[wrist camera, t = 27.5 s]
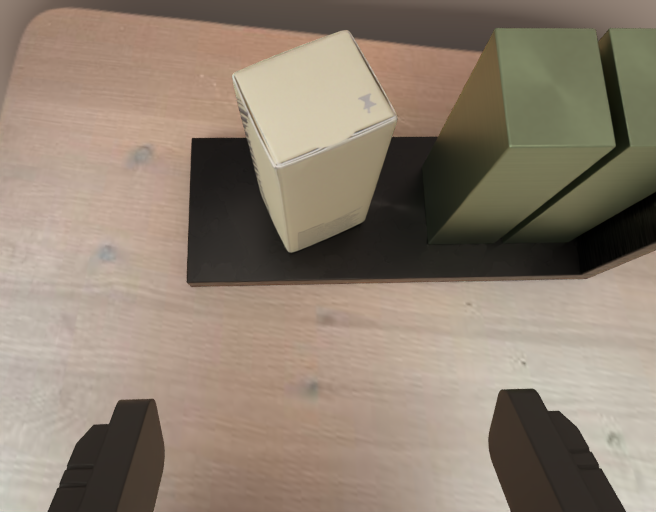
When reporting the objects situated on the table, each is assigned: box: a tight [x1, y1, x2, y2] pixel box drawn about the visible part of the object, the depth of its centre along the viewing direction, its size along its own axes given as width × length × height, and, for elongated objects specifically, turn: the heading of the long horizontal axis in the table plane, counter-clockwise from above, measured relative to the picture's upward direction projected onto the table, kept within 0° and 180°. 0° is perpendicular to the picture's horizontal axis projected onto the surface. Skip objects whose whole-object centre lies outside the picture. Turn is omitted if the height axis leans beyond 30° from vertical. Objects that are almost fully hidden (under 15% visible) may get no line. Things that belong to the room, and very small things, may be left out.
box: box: [232, 30, 398, 253], centre depth 26 cm, size 5×4×13 cm
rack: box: [187, 28, 656, 287], centre depth 27 cm, size 24×9×14 cm, turn 92°
